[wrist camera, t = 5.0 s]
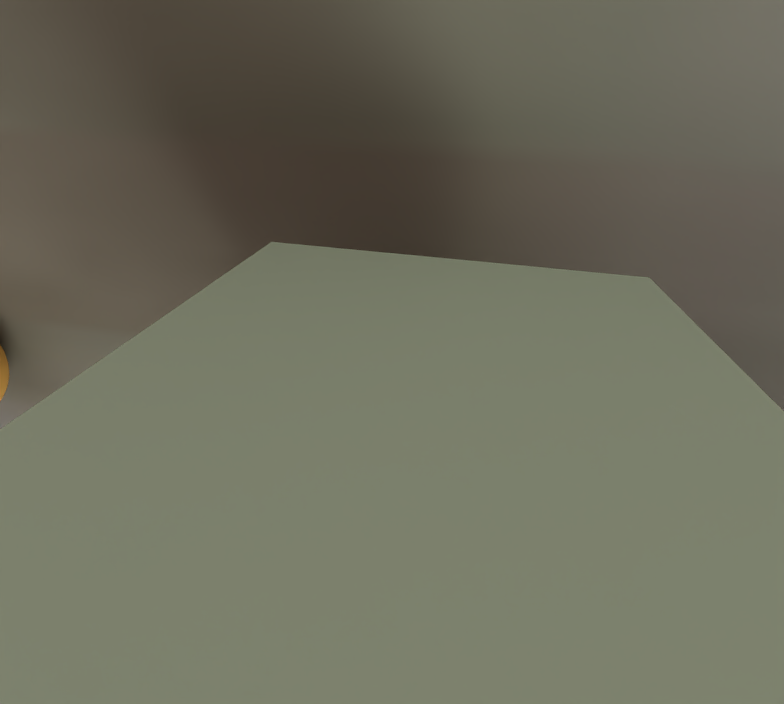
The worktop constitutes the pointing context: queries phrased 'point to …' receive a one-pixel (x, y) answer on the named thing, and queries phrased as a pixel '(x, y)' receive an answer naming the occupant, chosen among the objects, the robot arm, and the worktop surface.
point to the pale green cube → (398, 498)
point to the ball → (3, 372)
